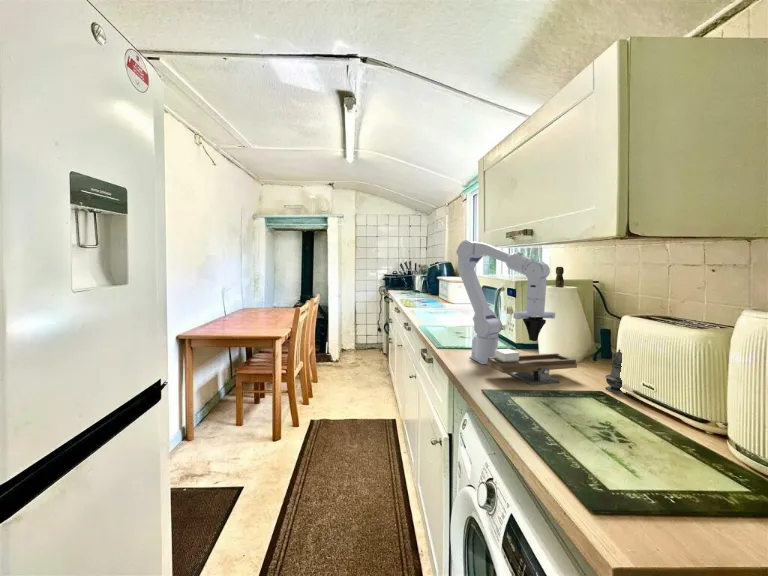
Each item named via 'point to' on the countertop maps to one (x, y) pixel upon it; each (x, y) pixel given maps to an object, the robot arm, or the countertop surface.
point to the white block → (506, 356)
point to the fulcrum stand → (536, 377)
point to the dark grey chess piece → (615, 374)
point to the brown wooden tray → (533, 363)
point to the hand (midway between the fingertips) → (532, 340)
